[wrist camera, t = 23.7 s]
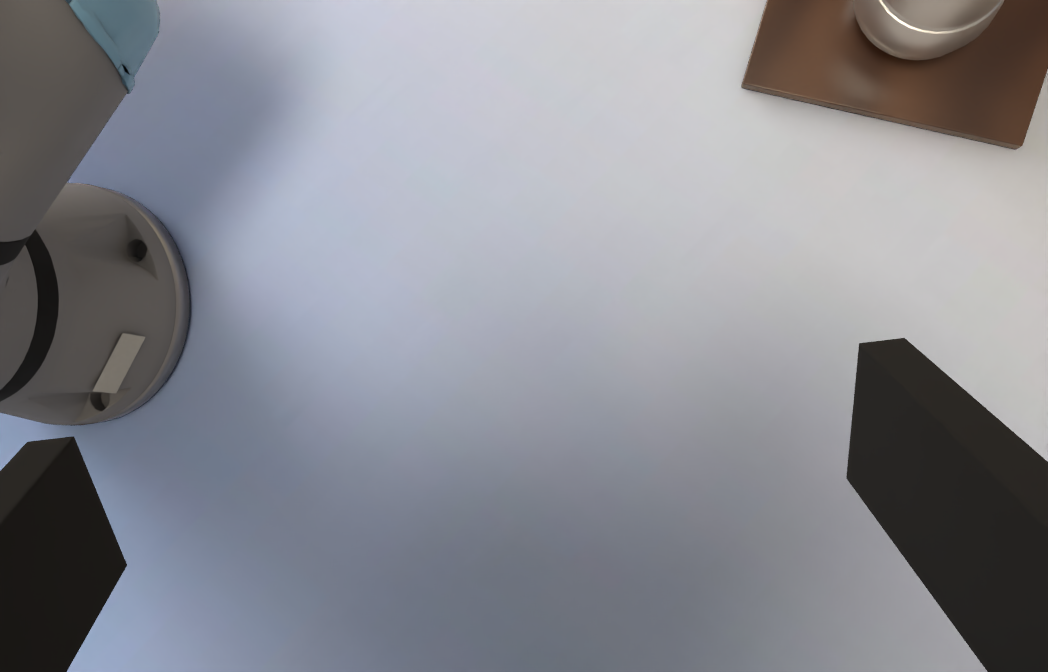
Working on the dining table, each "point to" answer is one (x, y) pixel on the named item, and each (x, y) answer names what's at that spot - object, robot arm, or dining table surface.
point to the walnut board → (906, 70)
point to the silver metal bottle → (923, 25)
